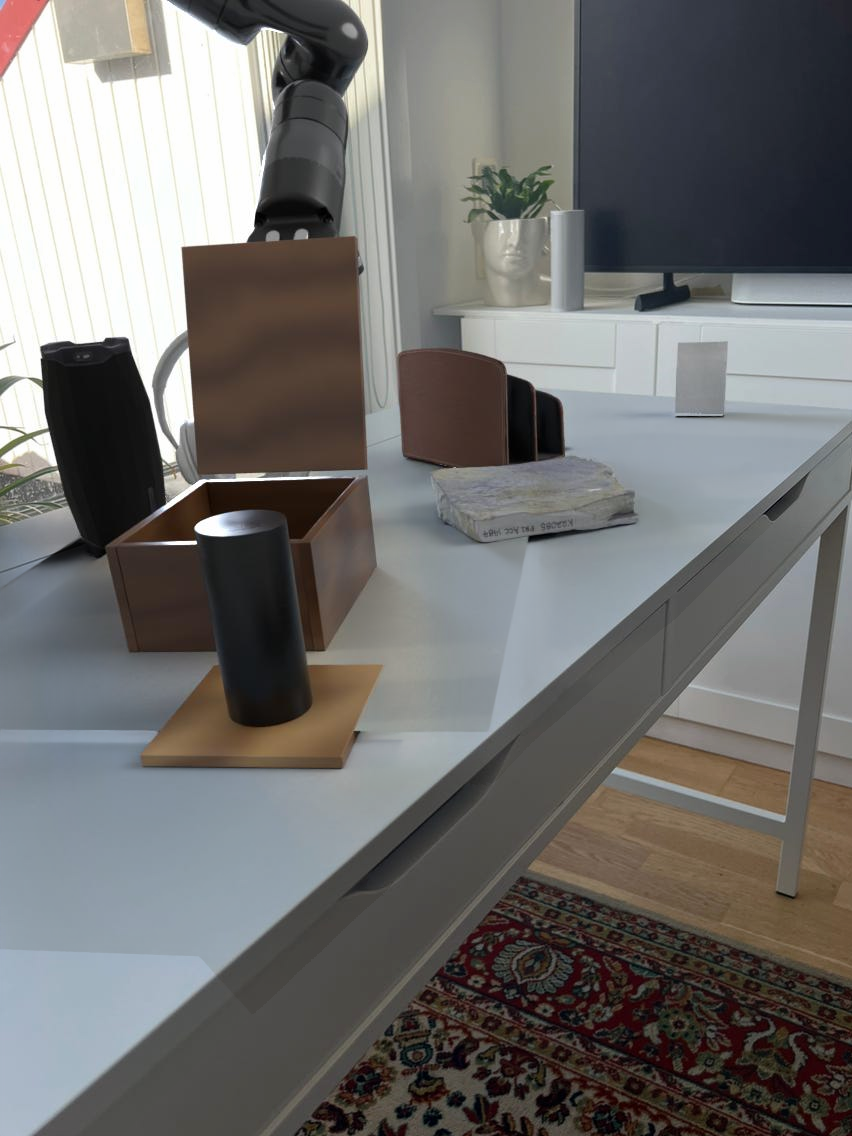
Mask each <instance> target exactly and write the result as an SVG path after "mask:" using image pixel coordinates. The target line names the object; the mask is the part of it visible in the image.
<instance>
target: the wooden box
mask: <svg viewBox="0 0 852 1136" xmlns="http://www.w3.org/2000/svg"><path fill="white" fill-rule="evenodd" d="M369 488H370V487H369V478H368V475H367V474H363V475H362V474H361V475H360V474H359V475H332V476H331V475H329V476H326V475H325V476H309V477H291V478H264V477H262V478H261V477H260V478H259V477H258V478H236V479H223V480H200V481H199V482H197V483H196V484H194V485H191V486H190V487H188V488H187V489H186V490H184V491H183V492H181V493H180V494H178V495H177V496H176V497H174V498H172V499H171V500H170V501H168V502H166V505H164V506H163V507H161V508H160V509H158V510H157V511H155V512H154V513H153V514H151V515H150V516H148V517H147V518H145V519H144V520H142V521H141V522H140V523H138V524H137V525H135V526H134V527H132V528H131V529H129V530H128V531H127V532H125V533H124V534H122V535H121V536H119V537H118V538H117V539H115V540H114V541H112V542H111V543H109V544H108V545H106V546H105V549H106V551H105V553H106V559H107V562H108V566H109V571H110V575H111V579H112V580H111V581H112V585H113V587H114V593H115V596H116V601H117V606H118V610H119V615H120V619H121V623H122V629H123V631H124V632H123V633H124V636H125V641H126V646H127V650H128V652H129V653H217V650H216V644H215V639H214V634H213V628H212V623H211V618H210V612H209V607H208V602H207V596H206V591H205V586H204V580H203V575H202V569H201V564H200V559H199V553H198V548H197V543H196V537H195V532H194V528H195V526H196V525H197V524H198V523H199V522H201V521H203V520H205V519H207V518H210V517H213V516H216V515H220V514H224V513H229V512H235V511H243V510H271V511H276V512H280V513H282V514H284V515H285V517H286V520H287V527H288V534H289V541H290V547H291V554H292V561H293V568H294V575H295V582H296V589H297V596H298V603H299V609H300V616H301V623H302V630H303V637H304V644H305V651H306V652H327V651H326V650H327V649H328V648H329V646H330V644H331V643H332V641H333V639H334V638H335V636H336V634H337V633H338V631H339V629H340V628H341V626H342V624H343V623H344V621H345V619H346V618H347V616H348V614H349V613H350V612H351V610H352V609H353V607H354V605H355V603H356V602H357V600H358V598H359V596H360V595H361V593H362V592H363V590H364V588H365V587H366V585H367V583H368V582H369V580H370V579H371V577H372V575H373V573H374V572H375V570H376V568H377V566H378V563H377V562H378V561H377V552H376V542H375V536H374V535H375V533H374V525H373V516H372V506H371V498H370V497H371V496H370V489H369Z"/></svg>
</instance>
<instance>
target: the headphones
mask: <svg viewBox="0 0 852 1136" xmlns="http://www.w3.org/2000/svg"><path fill="white" fill-rule="evenodd" d="M188 349H189V346H188V333H187V328H185V329H184V330H182V332H180V333H179V334H177V336H176V337H174V339H172V341H171V342H170V343H169V344H168V346H167V347H166V348H165V350H164V351H163V353H162V354H161V356H160V358H159V360H158V362H157V364H156V365H155V366H156V368H154V369H155V370H154V373H153V375H152V381H151V388H152V392H153V403H154V409H155V413H156V416H157V421H158V424H159V427H160V429H161V432H162V434H163V435H164V436H165V437H166V439H167V440H168V442H169V443H170V444H171V446H172V447H173V448H174V449H175V452H174V454H175V461H176V464H177V468H178V470H179V472H180V474H181V477H182V478H183V480H184V481H185V482H186V483H187V484H188V485H191V486H193V485H194V484H196V483H197V482H199V481H200V480H223V479H237V474H210V475H198V470H197V457H196V443H195V429H194V417H193V418H189V419H188V420H186V419H185V420H182V421H181V422H180V423H181V424H180V427H179V441H178V442H179V444H178V443H177V440H176V439H175V438H174V436H173V434H172V432H171V431H170V430H171V429H170V427H169V425H168V421H167V418H166V411H165V404H164V394H165V390H166V388H167V384H168V380H169V378H170V376H171V373H172V372H173V370H174V367H175V366H176V364H177V362H178V360H179V359H180V357H182V355H183V354H184V353H185V351H187V350H188ZM310 474H311V471H310V472H276V473H264V477H263V478H291V477H310Z"/></svg>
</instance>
